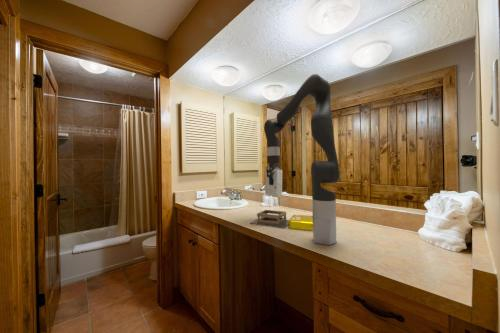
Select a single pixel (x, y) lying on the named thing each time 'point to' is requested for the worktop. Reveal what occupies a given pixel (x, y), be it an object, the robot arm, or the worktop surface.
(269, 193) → the skincare box
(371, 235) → the worktop surface
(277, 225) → the collar guide
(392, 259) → the worktop surface
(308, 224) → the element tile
